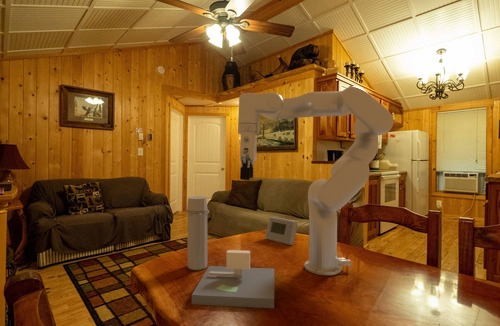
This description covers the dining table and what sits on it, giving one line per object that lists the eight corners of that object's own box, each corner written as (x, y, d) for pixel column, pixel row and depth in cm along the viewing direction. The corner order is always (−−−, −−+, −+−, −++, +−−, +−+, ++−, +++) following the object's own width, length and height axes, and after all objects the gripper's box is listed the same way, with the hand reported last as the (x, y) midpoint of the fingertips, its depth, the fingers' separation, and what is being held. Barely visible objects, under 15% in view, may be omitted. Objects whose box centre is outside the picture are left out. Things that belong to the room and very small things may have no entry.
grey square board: (274, 276, 92) (274, 268, 92) (274, 308, 72) (274, 298, 72) (209, 273, 94) (209, 265, 94) (191, 304, 74) (191, 294, 74)
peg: (250, 276, 86) (250, 250, 86) (249, 279, 84) (249, 253, 84) (210, 274, 87) (210, 249, 87) (208, 277, 85) (208, 251, 85)
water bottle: (184, 265, 102) (184, 196, 101) (205, 262, 105) (205, 195, 104) (189, 275, 93) (189, 200, 93) (212, 271, 96) (212, 199, 96)
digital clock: (263, 239, 135) (263, 217, 135) (277, 236, 140) (277, 215, 140) (286, 247, 122) (286, 223, 122) (300, 244, 127) (301, 220, 127)
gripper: (257, 127, 88) (254, 181, 88) (261, 132, 105) (259, 177, 105) (233, 126, 89) (231, 180, 89) (241, 131, 106) (240, 176, 106)
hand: (246, 178), depth 97 cm, fingers open, 9 cm apart
